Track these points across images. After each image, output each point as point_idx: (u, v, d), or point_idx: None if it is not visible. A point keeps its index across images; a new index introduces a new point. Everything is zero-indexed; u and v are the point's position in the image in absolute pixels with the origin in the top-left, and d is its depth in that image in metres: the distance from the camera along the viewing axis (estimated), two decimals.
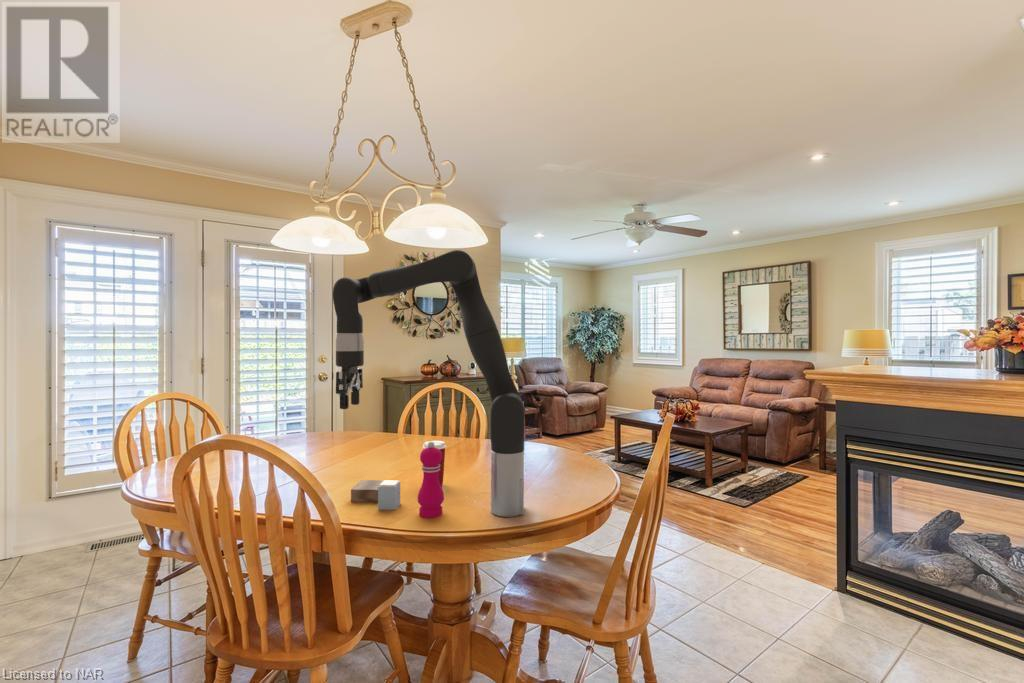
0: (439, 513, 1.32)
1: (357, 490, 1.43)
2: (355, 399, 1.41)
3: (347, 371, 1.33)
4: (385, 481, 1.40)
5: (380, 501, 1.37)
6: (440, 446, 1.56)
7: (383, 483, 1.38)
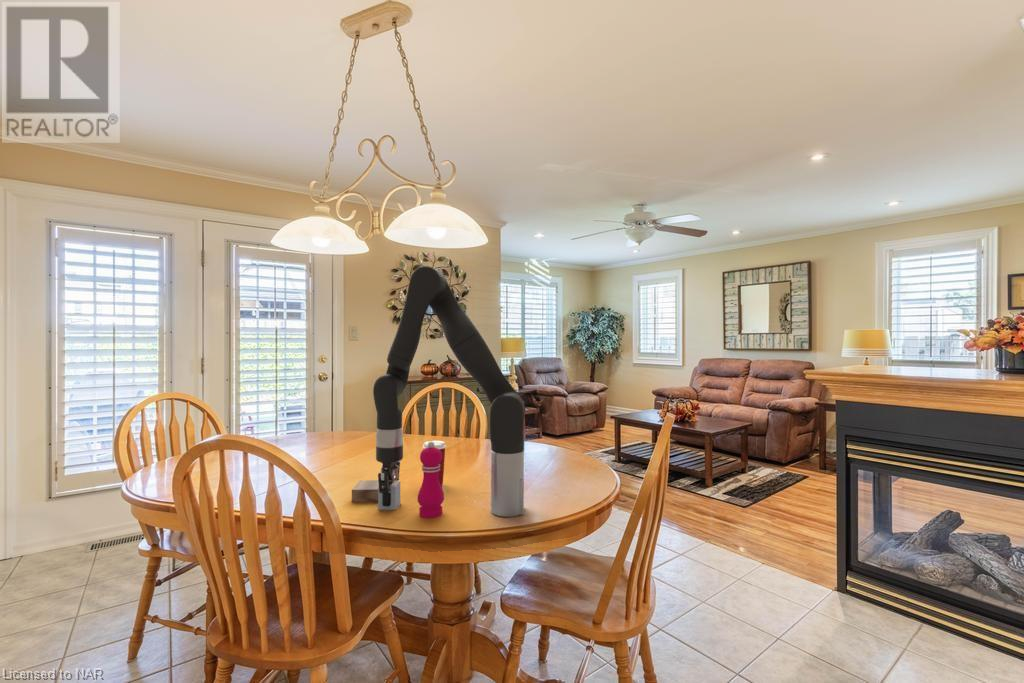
0: (439, 513, 1.32)
1: (358, 490, 1.43)
2: None
3: (388, 469, 1.35)
4: None
5: (380, 501, 1.37)
6: (440, 446, 1.56)
7: None
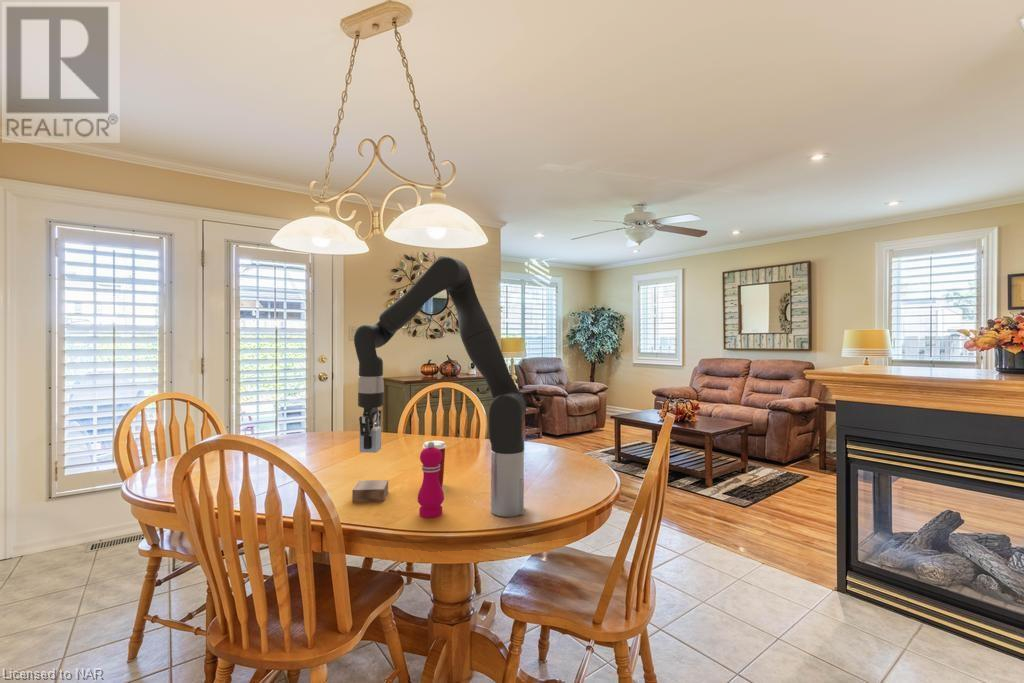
0: (439, 513, 1.32)
1: (359, 490, 1.43)
2: None
3: (369, 413, 1.43)
4: None
5: (361, 444, 1.45)
6: (440, 446, 1.56)
7: None
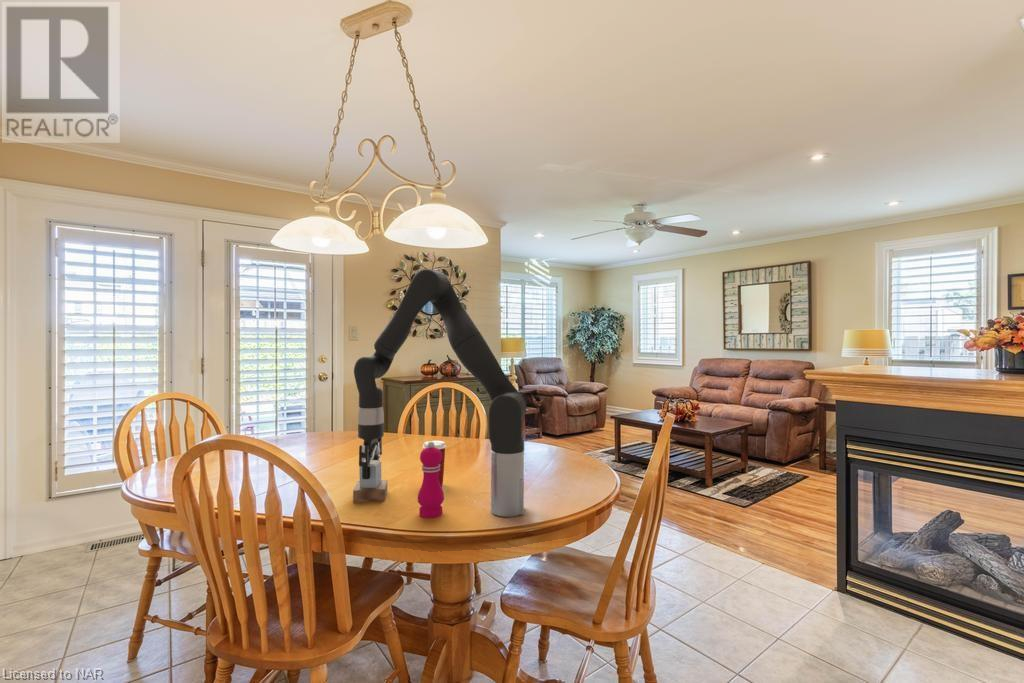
0: (439, 513, 1.32)
1: (360, 490, 1.43)
2: None
3: (369, 444, 1.43)
4: None
5: (361, 479, 1.45)
6: (440, 446, 1.56)
7: None
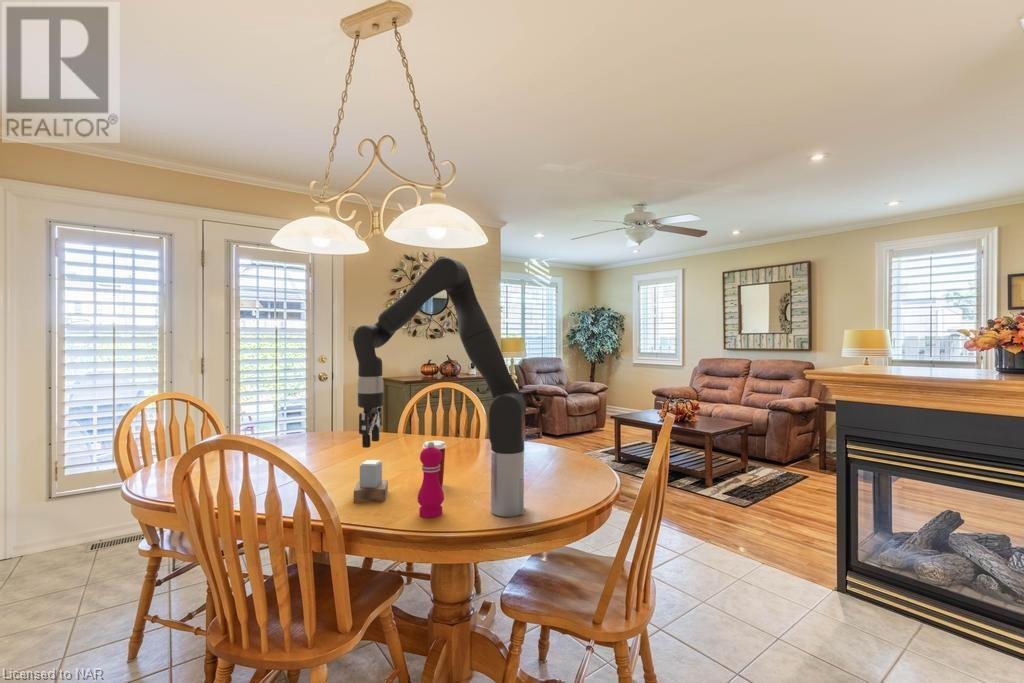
0: (439, 513, 1.32)
1: (360, 491, 1.43)
2: (375, 436, 1.51)
3: (369, 412, 1.43)
4: (367, 461, 1.49)
5: (361, 479, 1.45)
6: (440, 446, 1.56)
7: (365, 462, 1.47)
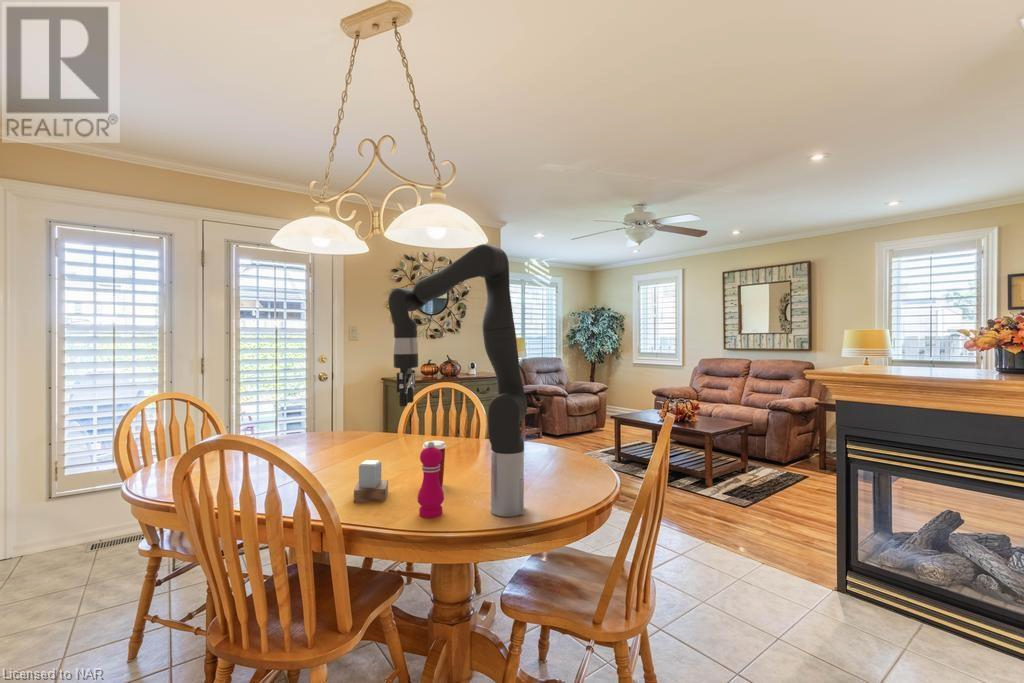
0: (439, 513, 1.32)
1: (360, 490, 1.43)
2: (410, 398, 1.55)
3: (405, 372, 1.47)
4: (367, 461, 1.49)
5: (361, 479, 1.45)
6: (440, 446, 1.56)
7: (364, 462, 1.47)
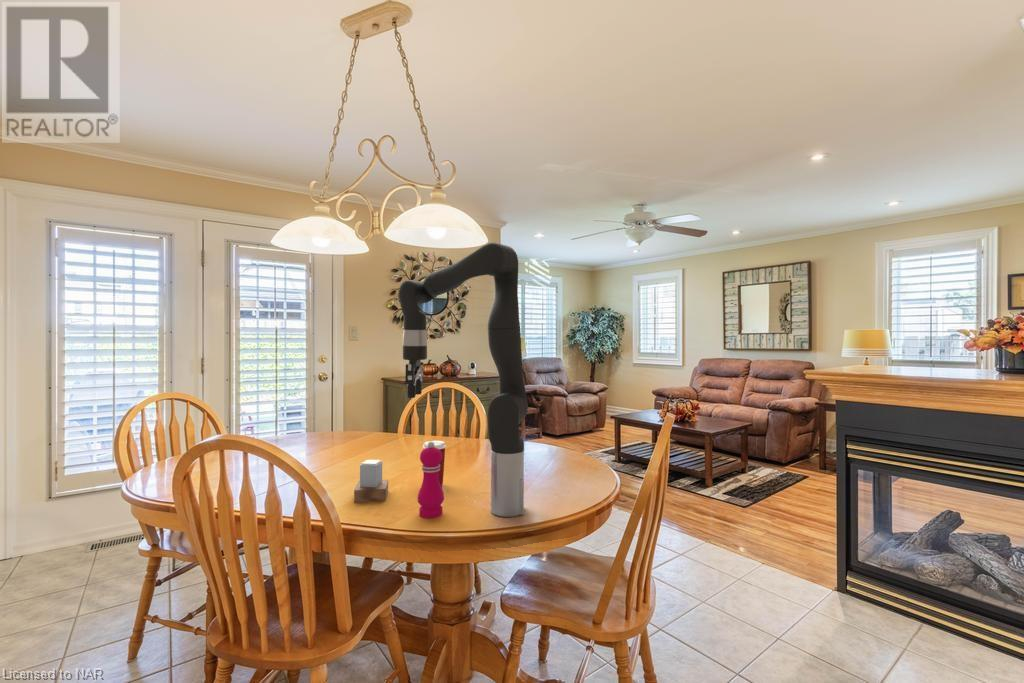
0: (439, 513, 1.32)
1: (361, 490, 1.43)
2: (418, 389, 1.57)
3: (414, 364, 1.49)
4: (368, 460, 1.49)
5: (362, 479, 1.46)
6: (440, 446, 1.56)
7: (365, 462, 1.47)
